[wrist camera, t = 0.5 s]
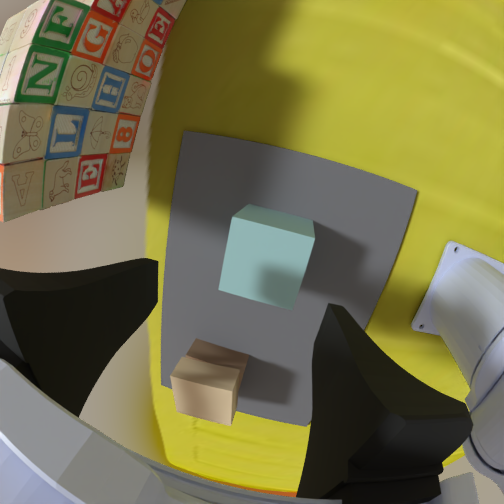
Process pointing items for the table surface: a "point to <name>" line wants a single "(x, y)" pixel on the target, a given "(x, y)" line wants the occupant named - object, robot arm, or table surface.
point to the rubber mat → (316, 274)
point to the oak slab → (205, 390)
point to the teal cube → (266, 255)
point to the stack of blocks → (74, 96)
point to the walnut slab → (218, 356)
